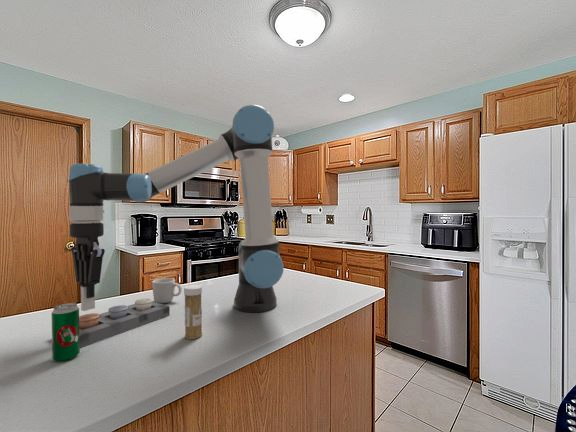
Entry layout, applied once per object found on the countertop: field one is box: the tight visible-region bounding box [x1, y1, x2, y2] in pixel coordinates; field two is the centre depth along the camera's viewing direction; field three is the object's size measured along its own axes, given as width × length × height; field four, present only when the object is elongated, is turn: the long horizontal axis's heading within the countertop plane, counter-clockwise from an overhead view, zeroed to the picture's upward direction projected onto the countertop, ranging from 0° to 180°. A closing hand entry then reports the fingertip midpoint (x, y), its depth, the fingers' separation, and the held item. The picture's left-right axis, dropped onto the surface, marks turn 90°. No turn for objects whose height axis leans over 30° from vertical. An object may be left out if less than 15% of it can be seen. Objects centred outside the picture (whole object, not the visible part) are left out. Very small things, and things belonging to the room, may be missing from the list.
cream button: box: [134, 297, 153, 311], centre depth 93 cm, size 5×5×3 cm
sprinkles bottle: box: [183, 284, 203, 340], centre depth 78 cm, size 5×5×14 cm
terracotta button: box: [79, 312, 101, 330], centre depth 79 cm, size 5×5×3 cm
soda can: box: [51, 302, 81, 363], centre depth 67 cm, size 5×5×12 cm
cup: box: [151, 277, 183, 304], centre depth 109 cm, size 11×8×8 cm
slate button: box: [107, 304, 129, 320], centre depth 86 cm, size 5×5×3 cm
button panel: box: [79, 301, 170, 349], centre depth 86 cm, size 12×26×3 cm, turn 149°
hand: (88, 309), depth 79 cm, fingers closed
